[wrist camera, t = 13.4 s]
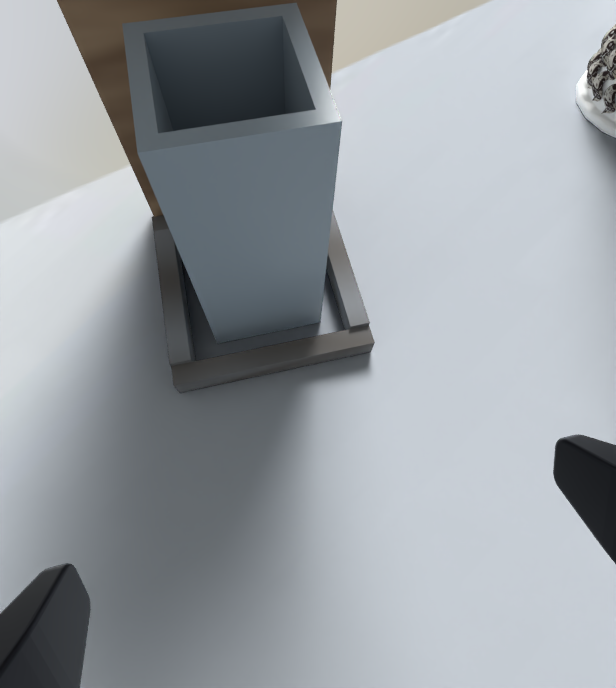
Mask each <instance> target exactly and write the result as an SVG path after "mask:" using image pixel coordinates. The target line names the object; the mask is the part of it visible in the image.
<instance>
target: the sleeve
mask: <svg viewBox="0 0 616 688" xmlns="http://www.w3.org/2000/svg"><path fill="white" fill-rule="evenodd" d="M122 27H123V35H124V43H125V52H126V60H127V69H128V77H129V86H130V94H131V103H132V111H133V120H134V128H135V136H136V145H137V153H138V155H139V158H140V160H141V163H142V165H143V167H144V170H145V172H146V174H147V177H148V179H149V182H150V184H151V186H152V189H153V191H154V194H155V196H156V198H157V201H158V203H159V206H160V208H161V210H162V213H163V215H164V218H165V220H166V222H167V225H168V227H169V229H170V232H171V234H172V237H173V239H174V241H175V244H176V246H177V249H178V251H179V253H180V256H181V258H182V261H183V263H184V265H185V268H186V270H187V272H188V275H189V277H190V280H191V282H192V284H193V287H194V289H195V292H196V294H197V296H198V299H199V301H200V304H201V306H202V308H203V311H204V313H205V315H206V318H207V320H208V323H209V325H210V327H211V330H212V332H213V335H214V337H215V339H216V342H217V344H219V343H223V342H228V341H233V340H238V339H243V338H247V337H252V336H257V335H262V334H267V333H271V332H276V331H281V330H286V329H290V328H295V327H300V326H305V325H310V324H314V323H319V322H320V320H321V311H322V302H323V293H324V283H325V274H326V265H327V256H328V247H329V237H330V228H331V219H332V210H333V200H334V191H335V182H336V173H337V163H338V154H339V145H340V136H341V126H342V120H341V117H340V115H339V112H338V109H337V107H336V104H335V102H334V99H333V96H332V94H331V91H330V89H329V86H328V83H327V81H326V78H325V76H324V73H323V70H322V68H321V65H320V62H319V60H318V57H317V55H316V52H315V49H314V47H313V44H312V42H311V39H310V36H309V34H308V31H307V29H306V26H305V23H304V21H303V18H302V16H301V13H300V10H299V8H298V5H297V3H289V4H281V5H272V6H264V7H256V8H248V9H239V10H231V11H223V12H214V13H206V14H198V15H190V16H181V17H173V18H165V19H156V20H148V21H140V22H132V23H123V24H122Z"/></svg>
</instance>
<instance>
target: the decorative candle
mask: <svg viewBox="0 0 616 688" xmlns="http://www.w3.org/2000/svg"><path fill="white" fill-rule="evenodd" d="M575 88H576V103H577V104H578V106H579V108H580V110H581V111H582V113H583V115H584V116H585V118H586V119H587V120H589V121H590V122H591V123H592V124H594V125H595V126H596V127H597V128H598V129H600V130H601V131H602V132H603V133H605V134H608V135H610V136H612V137H614V138H616V24H615V25H614V26H613V27H612V29H610V30H609V31H608V32H607V33H606V35H605V36H604V38H603V40H602V44H601V48H600V49H599V51H598V52H597V53H596V54H594V55H593V56H592V58H591V59H590V61H589V63H588V67H587V70H586V72H585V73H584V75H583V76H582V77H581V79H580V80H579V82H578V83H577V85H576V87H575Z"/></svg>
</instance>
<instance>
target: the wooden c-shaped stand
mask: <svg viewBox="0 0 616 688" xmlns="http://www.w3.org/2000/svg"><path fill="white" fill-rule="evenodd" d="M57 2H58V4H59V6H60V8H61V11H62V13H63V15H64V17H65V19H66V22H67V24H68V26H69V28H70V31H71V33H72V35H73V37H74V39H75V42H76V44H77V46H78V48H79V51H80V53H81V55H82V57H83V59H84V62H85V64H86V66H87V68H88V71H89V73H90V75H91V77H92V80H93V81H94V84H95V86H96V88H97V91H98V93H99V95H100V97H101V100H102V102H103V104H104V106H105V108H106V110H107V113H108V115H109V117H110V119H111V122H112V124H113V126H114V128H115V130H116V133H117V135H118V137H119V140H120V142H121V144H122V146H123V148H124V150H125V153H126V155H127V157H128V160H129V162H130V164H131V166H132V168H133V171H134V173H135V175H136V177H137V180H138V182H139V184H140V186H141V188H142V191H143V193H144V195H145V197H146V200H147V202H148V204H149V206H150V208H151V211H152V213H153V215H154V217H152V221H153V229H154V238H155V246H156V254H157V263H158V271H159V279H160V288H161V296H162V304H163V313H164V321H165V330H166V338H167V346H168V355H169V363H170V365H171V368H172V376H173V384H174V386H175V388H176V389H177V390H178V391H179V392H180V393H182V392H186V391H191V390H196V389H200V388H205V387H210V386H214V385H219V384H224V383H228V382H233V381H237V380H242V379H247V378H251V377H256V376H261V375H265V374H270V373H275V372H279V371H284V370H289V369H293V368H298V367H303V366H307V365H312V364H317V363H321V362H326V361H331V360H335V359H340V358H344V357H349V356H354V355H358V354H363V353H368V352H371V350H372V348H373V345H374V339H373V336H372V333H371V330H370V327H369V323H370V322H369V319H368V316H367V313H366V310H365V307H364V304H363V300H362V297H361V294H360V291H359V288H358V285H357V282H356V279H355V276H354V273H353V270H352V267H351V264H350V261H349V258H348V255H347V252H346V249H345V246H344V243H343V240H342V236H341V233H340V230H339V227H338V224H337V221H336V218H335V215H334V212H333V210H332V219H331V228H330V237H329V247H328V256H327V265H326V269H327V272H328V276H329V279H330V282H331V286H332V289H333V292H334V296H335V299H336V302H337V306H338V309H339V312H340V316H341V319H342V322H343V326H344V329H345V330H343V331H338V332H333V333H329V334H324V335H319V336H314V337H309V338H304V339H300V340H295V341H290V342H285V343H280V344H276V345H271V346H266V347H261V348H256V349H251V350H247V351H242V352H237V353H232V354H227V355H223V356H218V357H213V358H208V359H203V360H198V361H196V359H195V352H194V345H193V338H192V331H191V324H190V318H189V311H188V304H187V297H186V290H185V283H184V276H183V270H182V263H181V256H180V253H179V251H178V249H177V246H176V244H175V241H174V239H173V237H172V234H171V232H170V229H169V227H168V225H167V222H166V220H165V218H164V215H163V213H162V210H161V208H160V206H159V203H158V201H157V198H156V196H155V194H154V191H153V189H152V186H151V184H150V182H149V179H148V177H147V174H146V172H145V170H144V167H143V165H142V163H141V160H140V158H139V155H138V153H137V145H136V136H135V128H134V120H133V111H132V103H131V94H130V86H129V77H128V69H127V60H126V52H125V43H124V35H123V27H122V24H123V23H132V22H140V21H148V20H156V19H165V18H173V17H181V16H190V15H198V14H206V13H214V12H223V11H231V10H239V9H248V8H256V7H264V6H272V5H281V4H289V3H297V5H298V8H299V10H300V13H301V16H302V18H303V21H304V23H305V26H306V29H307V31H308V34H309V36H310V39H311V42H312V44H313V47H314V49H315V52H316V55H317V57H318V60H319V62H320V65H321V68H322V70H323V73H324V76H325V78H326V81H327V83H328V86H329V89H330V86H331V73H332V58H333V45H334V32H335V31H334V30H335V18H336V5H337V0H57Z"/></svg>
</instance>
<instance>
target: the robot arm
mask: <svg viewBox="0 0 616 688" xmlns="http://www.w3.org/2000/svg"><path fill="white" fill-rule="evenodd" d="M553 474H554V479H555V482H556V484H557V486H558V487H559V489H560V490H561V491H562V493H563V494H564V495H565V497H566V498H567V500H568V501H569V502H570V504H571V505H572V506H573V508H574V509H575V510H576V512H577V513H578V515H579V516H580V517H581V519H582V520H583V521H584V523H585V524H586V526H587V527H588V528H589V530H590V531H591V532H592V534H593V535H594V536H595V538H596V539H597V541H598V542H599V543H600V545H601V546H602V547H603V549H604V550H605V551H606V552H607V554H608V555H609V556H610V558H611V559H612V560H613V561H614V562H615V564H616V445H613V444H610V443H607V442H603V441H600V440H597V439H594V438H590V437H587V436H584V435H572V436H568V437H564V438H561V439H559V440H558V441H557V443H556V446H555V457H554V470H553ZM89 617H90V599H89V595H88V593H87V591H86V589H85V587H84V585H83V583H82V581H81V578H80V576H79V574H78V572H77V570H76V568H75V567H74V566H73V565H72V564H68V563H67V564H62V565H58V566H54V567H50V568H47V569H45V570H43V571H42V572H41V573H40V574H39V575H38V576H37V577H36V578H35V579H34V580H33V581H32V582H31V583H30V584H29V585H28V586H27V587H26V588H25V589H24V590H23V591H22V592H21V593H20V594H19V595H18V596H17V597H16V598H15V599H14V600H13V601H12V602H11V603H10V604H9V605H8V606H7V607H6V608H5V610H4V611H3V612H2V613H1V614H0V688H80V683H81V675H82V668H83V661H84V653H85V646H86V639H87V631H88V624H89Z"/></svg>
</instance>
